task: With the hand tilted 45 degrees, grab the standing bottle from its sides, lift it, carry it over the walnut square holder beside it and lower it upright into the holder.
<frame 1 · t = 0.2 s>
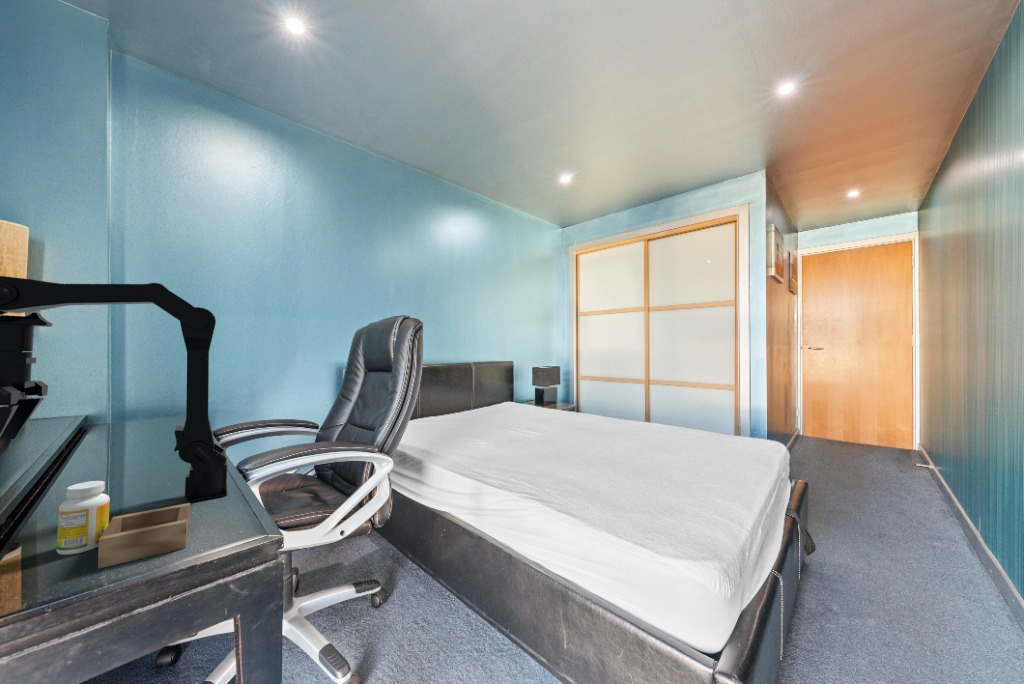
supplement bottle: (83, 548, 59), on the table
walnut holder: (148, 544, 60), on the table
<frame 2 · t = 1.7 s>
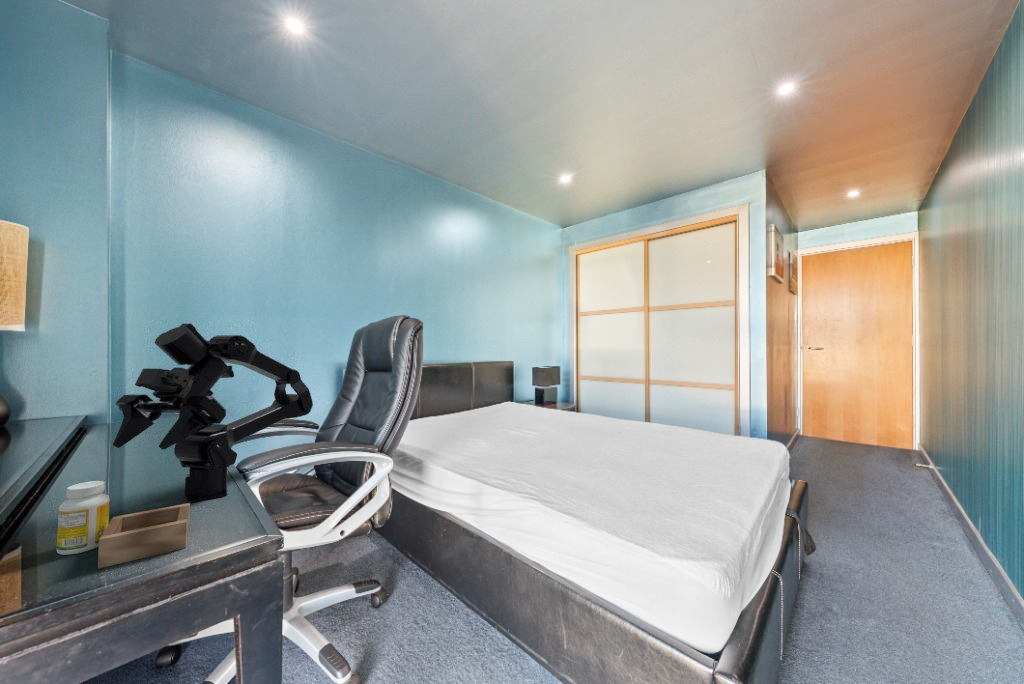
hand: (138, 447, 67), 14 cm above the table, tool tilted 45°, fingers open, 9 cm apart
nothing on the table moved.
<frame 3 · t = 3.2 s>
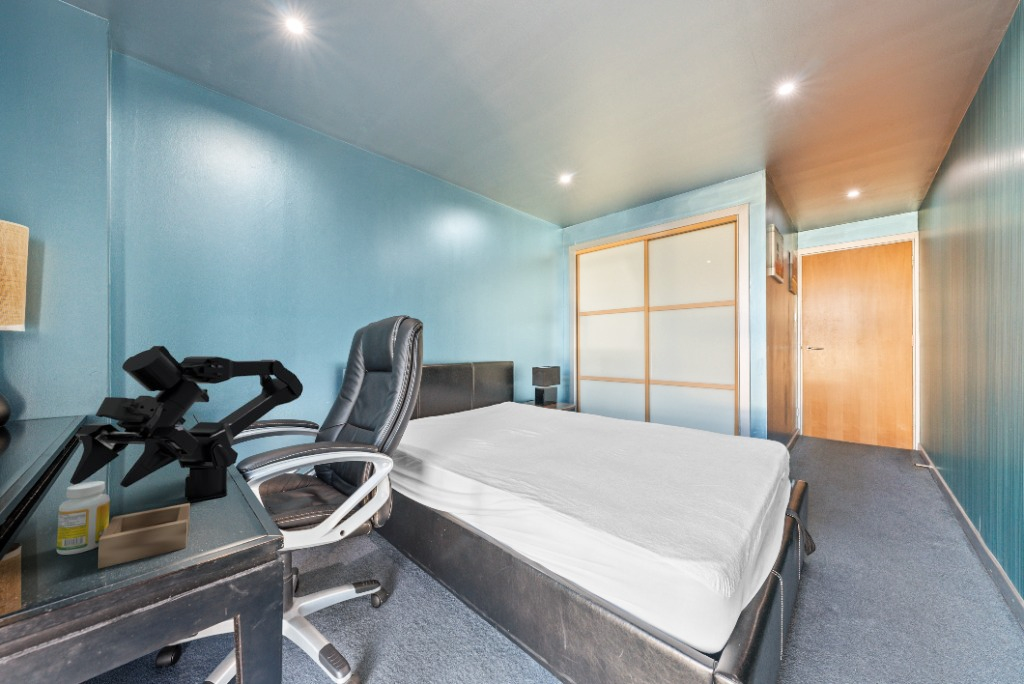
hand: (97, 485, 61), 9 cm above the table, tool tilted 45°, fingers open, 9 cm apart
nothing on the table moved.
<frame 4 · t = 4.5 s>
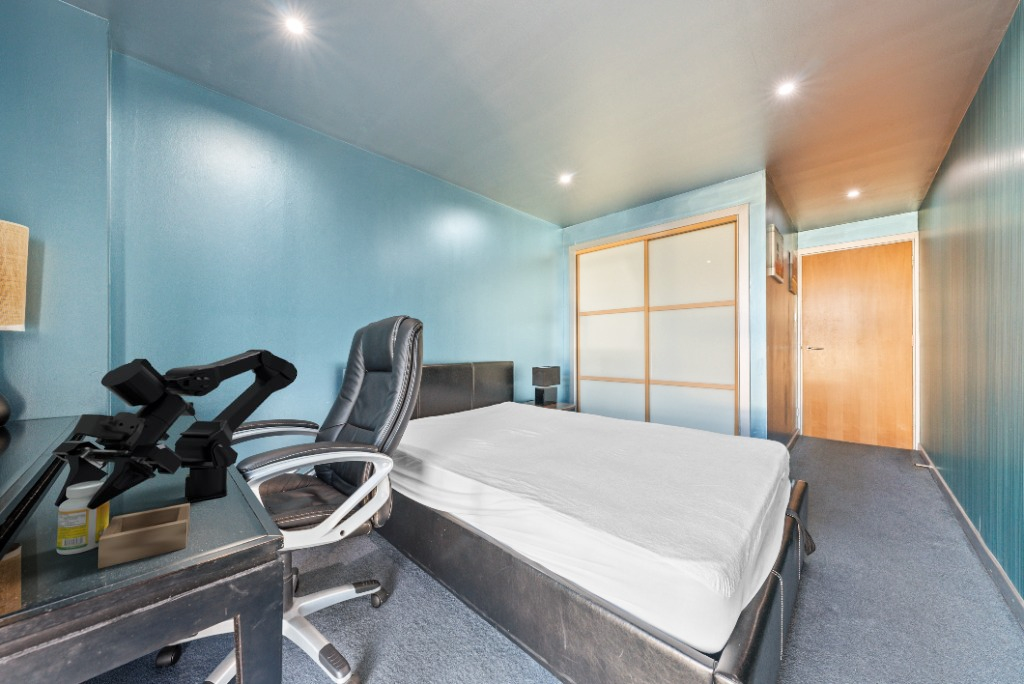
hand: (73, 507, 58), 7 cm above the table, tool tilted 45°, fingers closed on supplement bottle, 5 cm apart
supplement bottle: (83, 547, 59), on the table, touching gripper
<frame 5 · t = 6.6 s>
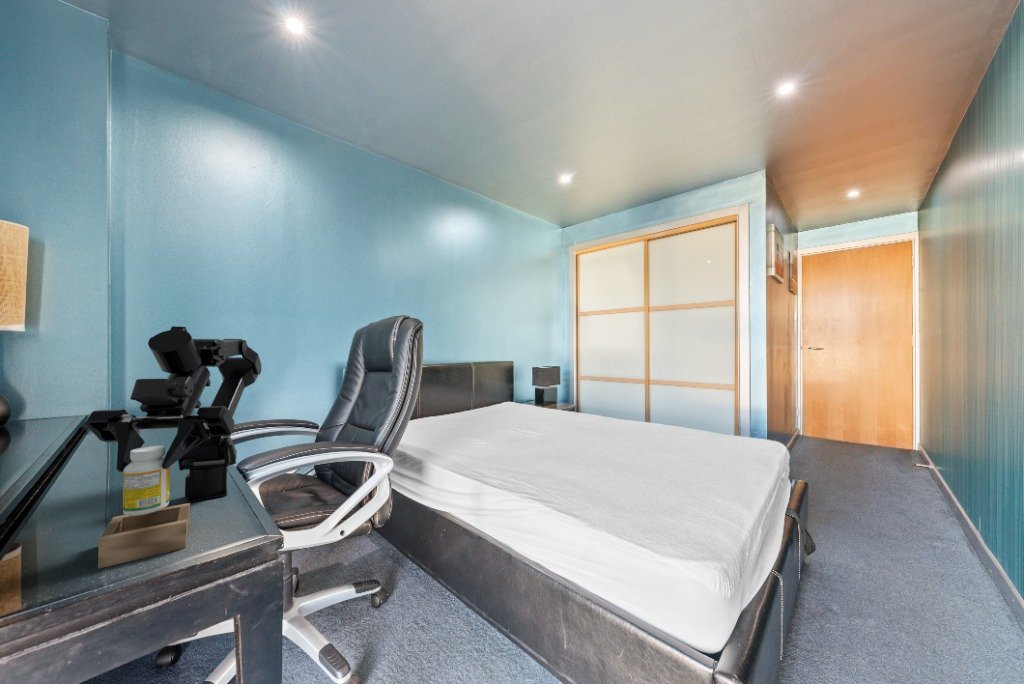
hand: (142, 469, 59), 12 cm above the table, tool tilted 45°, fingers closed on supplement bottle, 5 cm apart
supplement bottle: (146, 510, 60), point 5 cm above the table, touching gripper
when the fingers open (7 cm above the table, at t = 8.6 s): supplement bottle stays where it is, resting in walnut holder.
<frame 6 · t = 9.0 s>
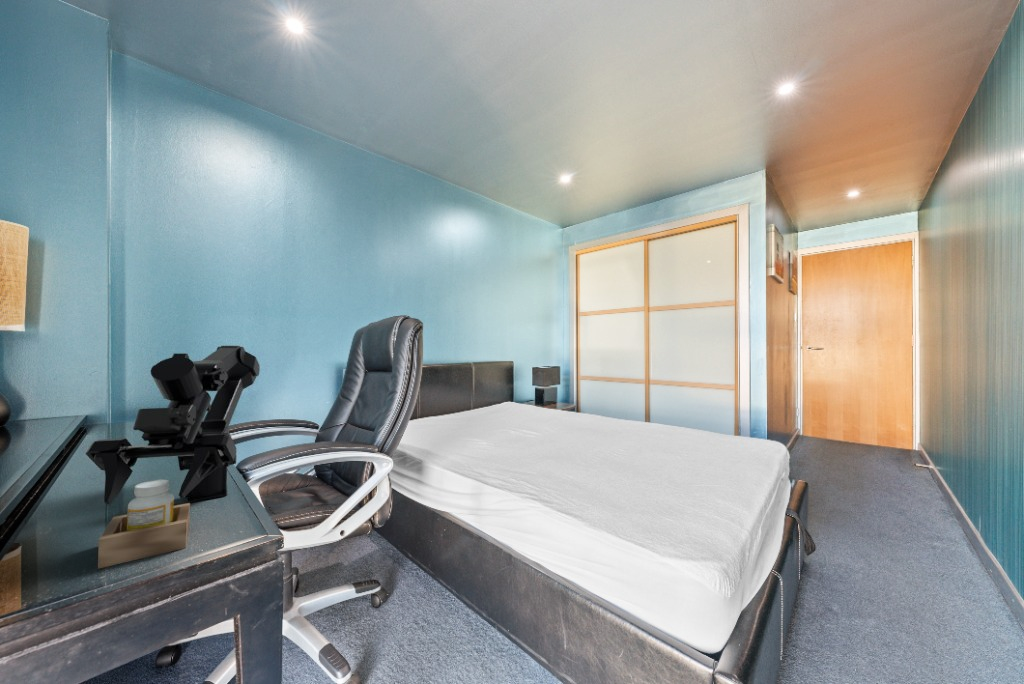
hand: (144, 499, 59), 8 cm above the table, tool tilted 45°, fingers open, 9 cm apart
supplement bottle: (149, 545, 60), resting in walnut holder
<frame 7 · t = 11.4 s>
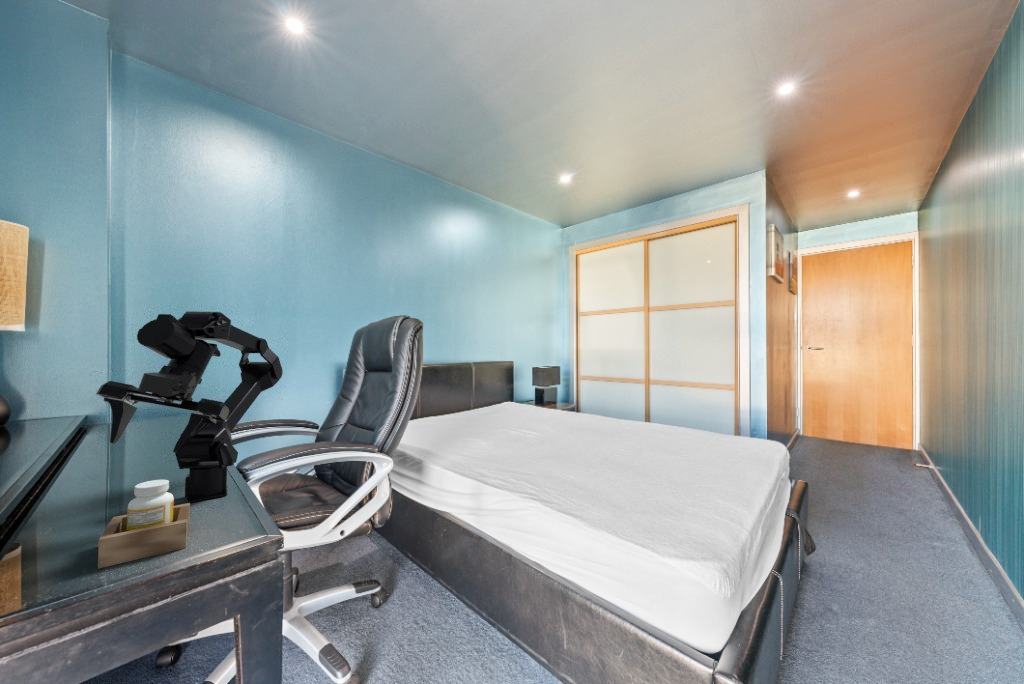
hand: (144, 447, 68), 13 cm above the table, tool tilted 25°, fingers open, 9 cm apart
nothing on the table moved.
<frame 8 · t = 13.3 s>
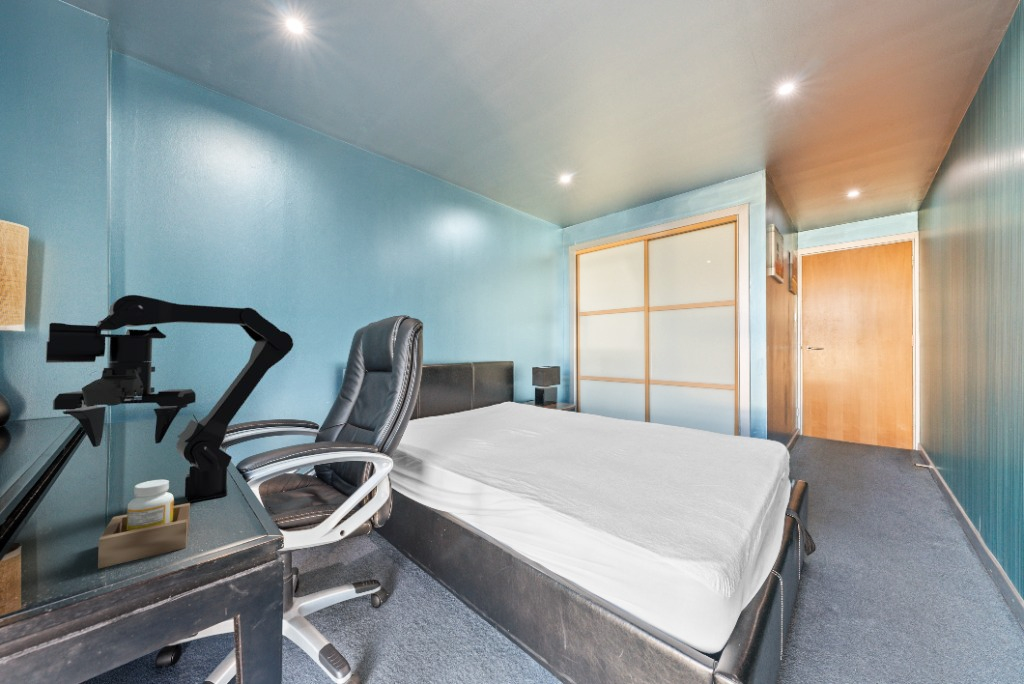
hand: (127, 444, 71), 13 cm above the table, tool pointing down, fingers open, 9 cm apart
nothing on the table moved.
at the end: supplement bottle 0.1 cm off-centre on the walnut holder, point 0.0 cm above the walnut holder's base; supplement bottle tilted 0°; the gripper is holding nothing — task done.
